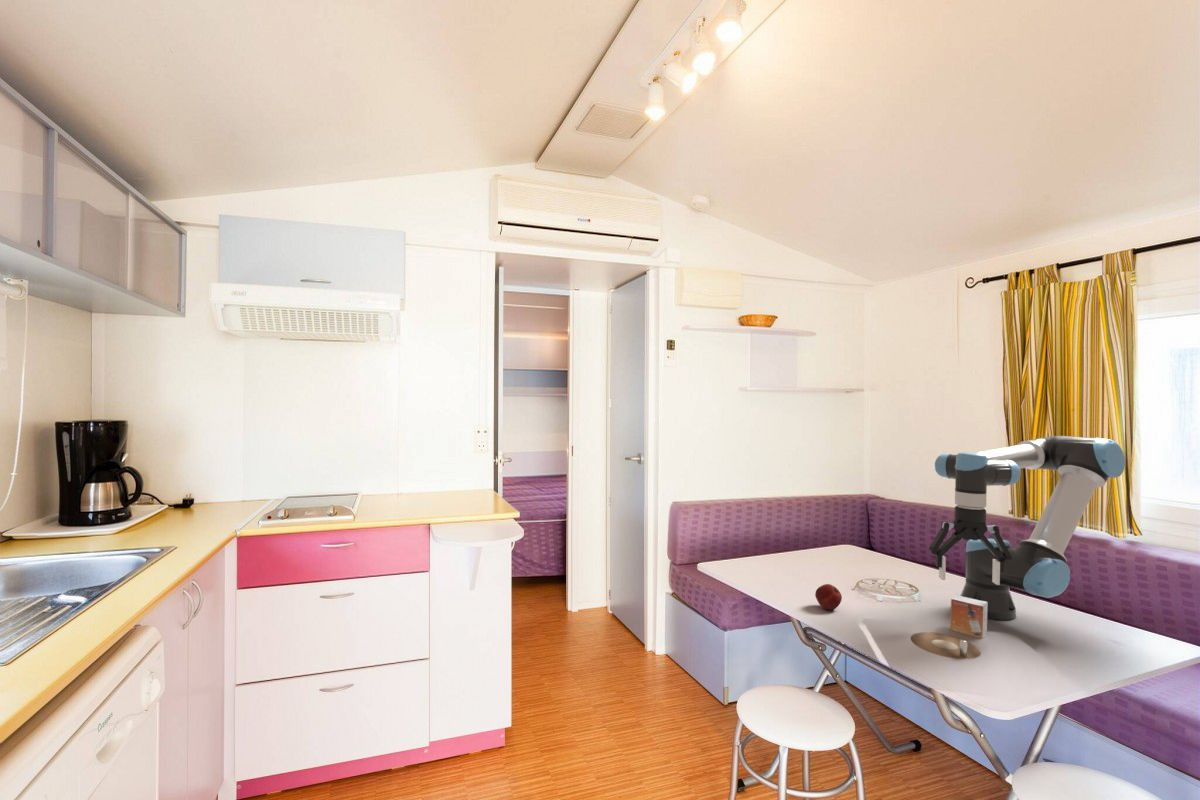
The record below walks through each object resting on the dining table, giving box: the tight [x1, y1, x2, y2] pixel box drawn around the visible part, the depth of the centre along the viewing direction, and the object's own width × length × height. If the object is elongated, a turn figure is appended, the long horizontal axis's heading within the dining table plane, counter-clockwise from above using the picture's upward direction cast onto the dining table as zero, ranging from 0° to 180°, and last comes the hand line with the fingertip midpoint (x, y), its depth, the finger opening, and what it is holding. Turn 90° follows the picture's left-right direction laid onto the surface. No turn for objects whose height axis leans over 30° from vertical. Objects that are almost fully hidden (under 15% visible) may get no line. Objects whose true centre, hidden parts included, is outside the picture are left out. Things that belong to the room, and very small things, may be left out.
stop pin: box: [960, 638, 968, 658], centre depth 141 cm, size 2×2×4 cm
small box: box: [949, 594, 988, 639], centre depth 157 cm, size 8×6×10 cm
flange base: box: [910, 631, 982, 660], centre depth 148 cm, size 16×16×2 cm
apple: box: [814, 583, 843, 611], centre depth 176 cm, size 7×8×8 cm
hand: (968, 581), depth 157 cm, fingers open, 13 cm apart
